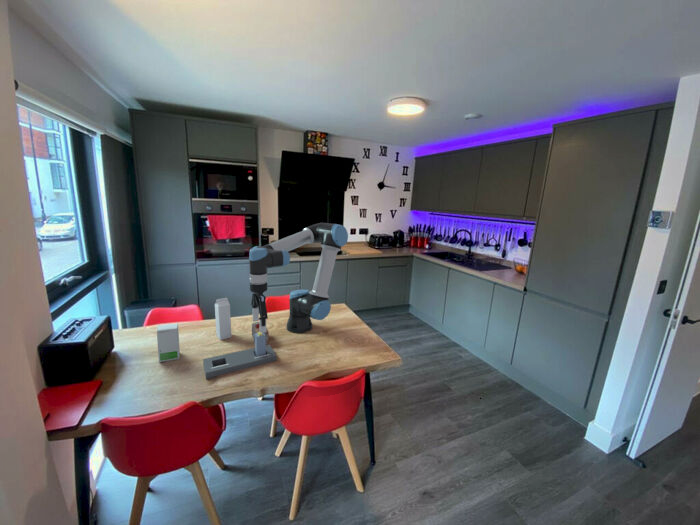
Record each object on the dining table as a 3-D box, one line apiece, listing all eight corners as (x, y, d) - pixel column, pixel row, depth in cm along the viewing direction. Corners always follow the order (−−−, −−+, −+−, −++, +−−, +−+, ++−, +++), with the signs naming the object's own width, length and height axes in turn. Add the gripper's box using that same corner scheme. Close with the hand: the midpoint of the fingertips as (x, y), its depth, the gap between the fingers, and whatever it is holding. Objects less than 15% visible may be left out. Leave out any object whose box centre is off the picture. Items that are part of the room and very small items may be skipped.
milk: (231, 337, 156) (230, 299, 152) (220, 340, 152) (218, 301, 148) (227, 333, 161) (225, 295, 156) (216, 336, 157) (214, 298, 152)
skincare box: (158, 362, 130) (155, 331, 127) (160, 355, 136) (157, 325, 132) (180, 358, 134) (177, 328, 130) (180, 352, 139) (178, 322, 136)
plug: (263, 354, 139) (263, 330, 137) (265, 358, 136) (265, 333, 133) (255, 356, 137) (254, 332, 135) (257, 360, 134) (256, 335, 131)
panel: (269, 349, 145) (269, 344, 144) (276, 361, 135) (276, 355, 134) (203, 365, 130) (203, 358, 129) (206, 379, 120) (205, 372, 119)
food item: (270, 344, 150) (270, 327, 148) (255, 348, 146) (254, 330, 144) (264, 334, 162) (263, 317, 160) (249, 336, 158) (248, 320, 156)
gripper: (244, 276, 137) (245, 317, 142) (256, 291, 116) (257, 339, 121) (260, 275, 141) (260, 315, 145) (275, 289, 120) (275, 335, 125)
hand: (259, 326), depth 133 cm, fingers open, 13 cm apart
